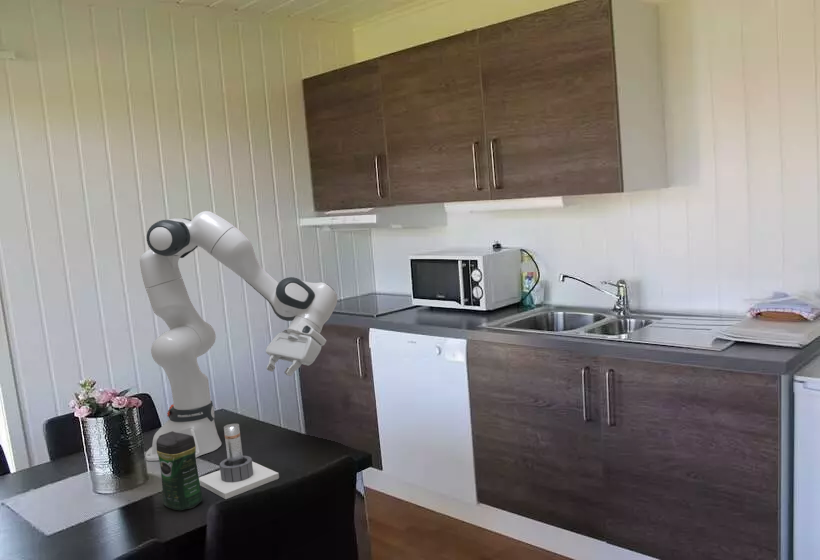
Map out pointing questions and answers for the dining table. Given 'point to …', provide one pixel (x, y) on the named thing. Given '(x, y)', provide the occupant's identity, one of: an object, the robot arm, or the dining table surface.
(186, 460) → the coffee jar
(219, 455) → the dining table surface
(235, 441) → the silver peg
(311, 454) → the dining table surface
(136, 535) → the dining table surface
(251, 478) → the collar plate
